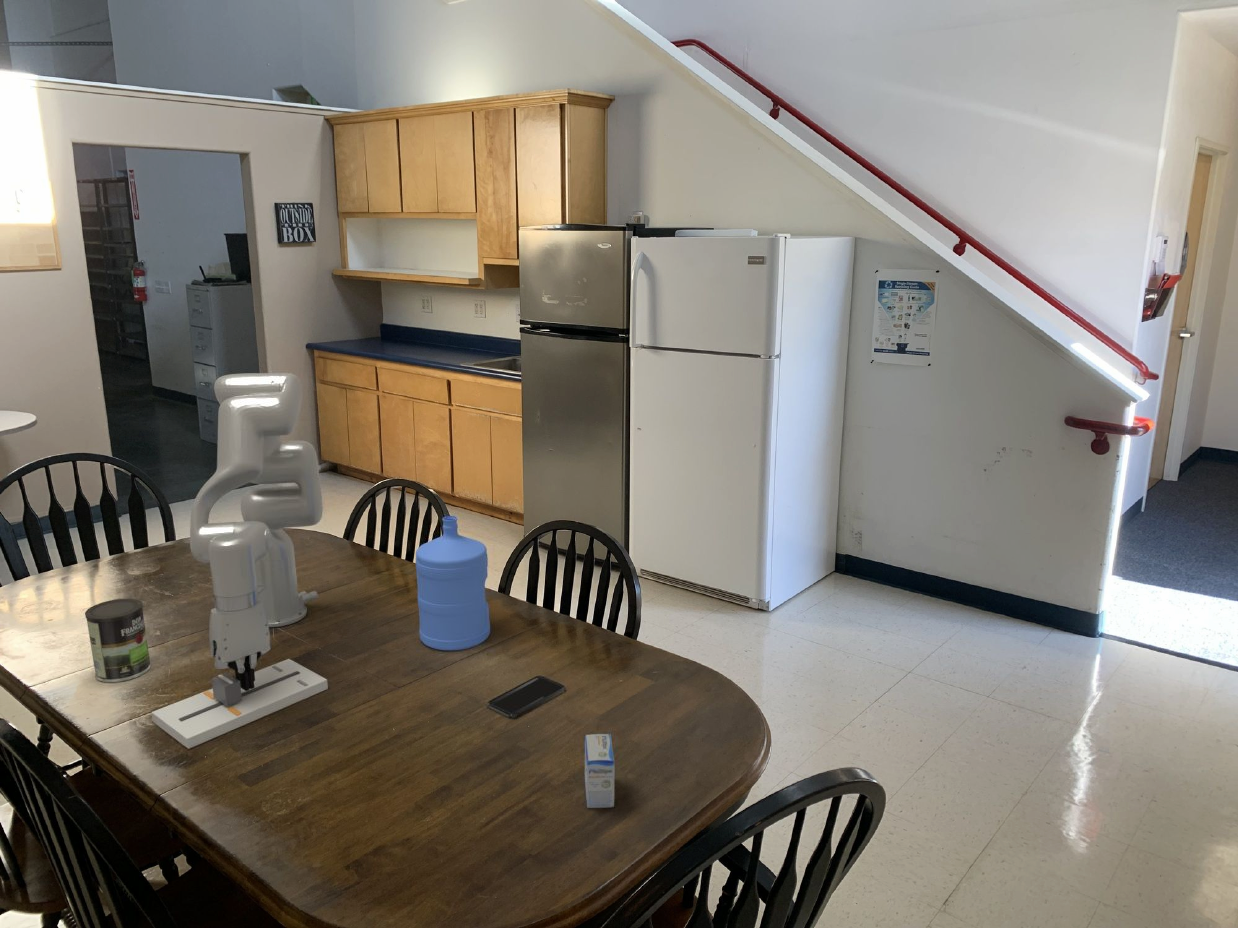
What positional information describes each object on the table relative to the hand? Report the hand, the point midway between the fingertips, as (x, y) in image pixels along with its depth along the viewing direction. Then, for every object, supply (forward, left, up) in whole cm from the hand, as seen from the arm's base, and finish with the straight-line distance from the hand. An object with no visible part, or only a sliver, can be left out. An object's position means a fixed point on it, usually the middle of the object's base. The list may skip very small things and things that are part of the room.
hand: (246, 687), depth 174 cm
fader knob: (+4, 0, -1) cm, 4 cm away
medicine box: (-22, +71, -4) cm, 74 cm away
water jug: (-45, +8, -4) cm, 46 cm away
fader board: (+1, 0, -3) cm, 4 cm away
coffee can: (+10, -32, -4) cm, 34 cm away
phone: (-36, +40, -4) cm, 54 cm away
